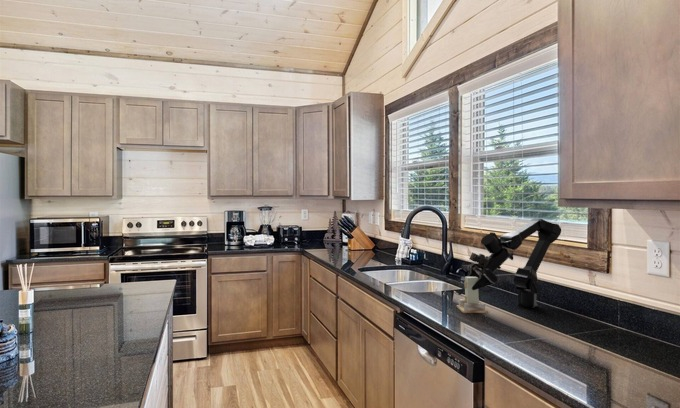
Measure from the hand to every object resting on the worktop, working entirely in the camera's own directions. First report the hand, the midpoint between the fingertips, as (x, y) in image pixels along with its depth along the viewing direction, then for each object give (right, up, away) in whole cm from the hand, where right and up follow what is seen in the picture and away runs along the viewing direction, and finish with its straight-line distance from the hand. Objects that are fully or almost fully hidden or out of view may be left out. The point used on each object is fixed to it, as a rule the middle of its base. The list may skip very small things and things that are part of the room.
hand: (468, 286), depth 177 cm
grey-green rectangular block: (+1, -8, 0) cm, 9 cm away
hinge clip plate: (+1, -9, 0) cm, 10 cm away
